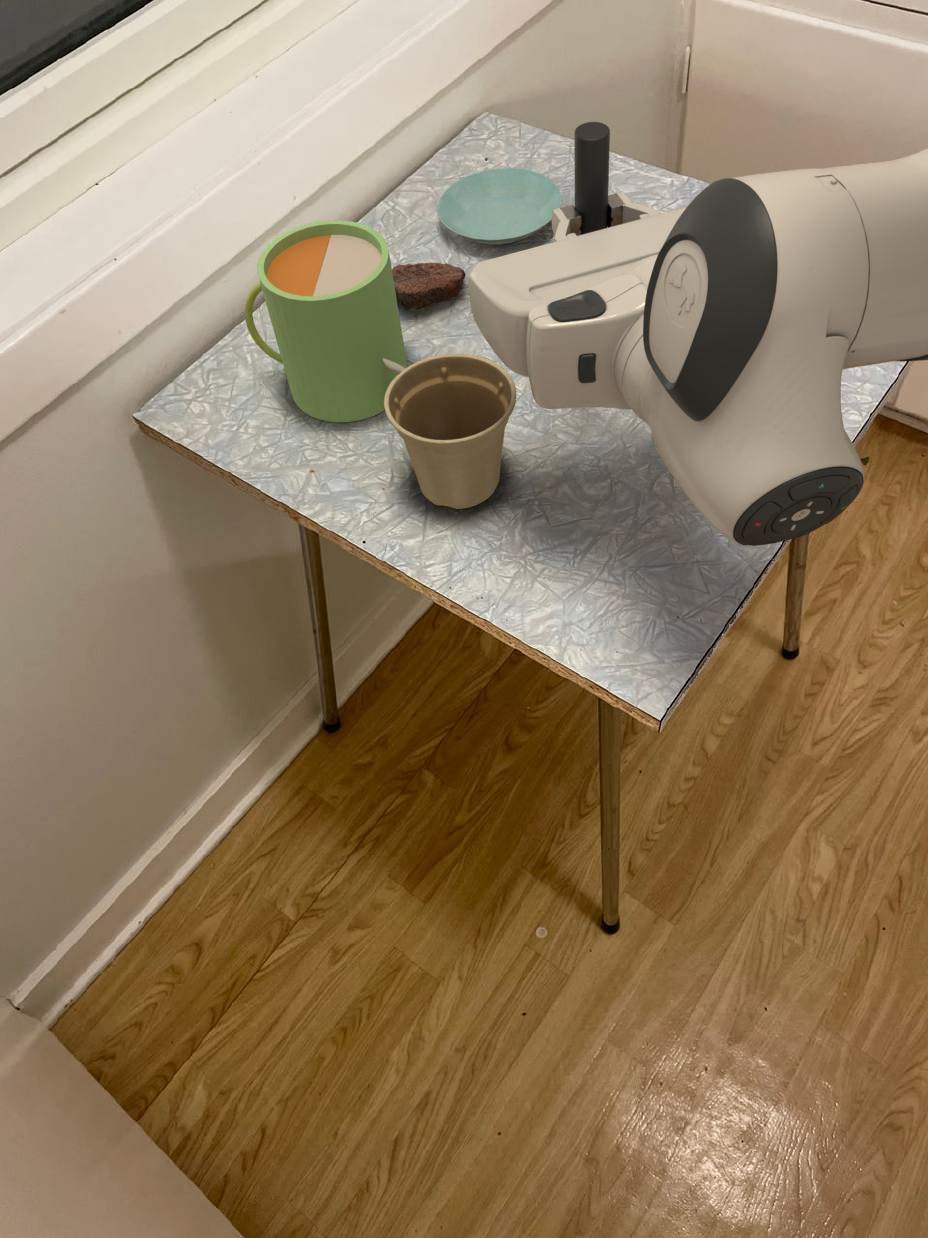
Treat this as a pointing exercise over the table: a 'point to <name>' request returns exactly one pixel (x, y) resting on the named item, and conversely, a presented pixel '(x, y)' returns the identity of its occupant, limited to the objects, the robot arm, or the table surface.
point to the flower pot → (453, 424)
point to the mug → (331, 317)
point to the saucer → (499, 205)
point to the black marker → (592, 175)
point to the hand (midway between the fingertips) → (586, 209)
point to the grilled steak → (426, 284)
